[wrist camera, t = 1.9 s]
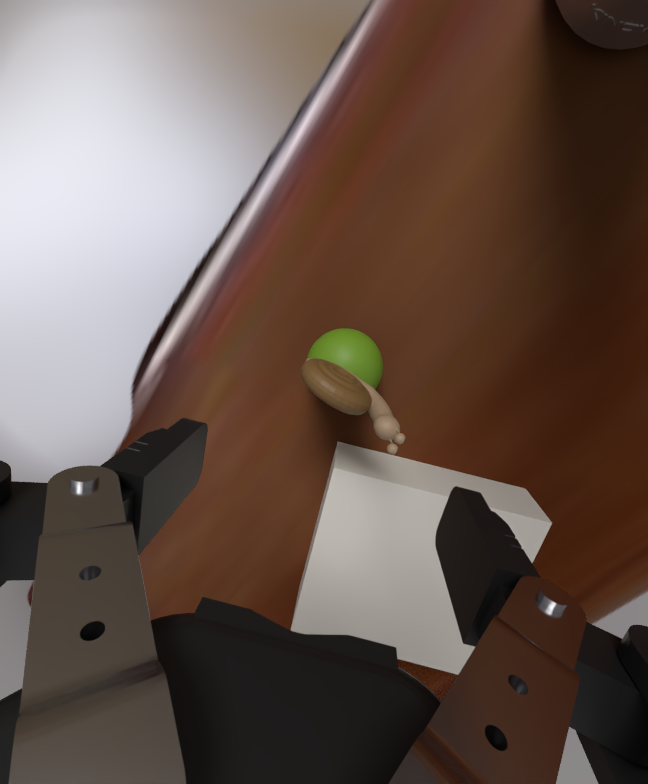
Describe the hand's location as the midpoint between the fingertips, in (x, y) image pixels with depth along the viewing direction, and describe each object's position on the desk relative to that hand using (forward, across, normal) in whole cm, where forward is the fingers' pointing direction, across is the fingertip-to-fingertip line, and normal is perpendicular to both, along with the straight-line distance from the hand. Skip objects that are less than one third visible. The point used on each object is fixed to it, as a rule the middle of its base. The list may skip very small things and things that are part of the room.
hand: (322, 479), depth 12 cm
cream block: (+19, -9, +15) cm, 26 cm away
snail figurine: (+18, 0, 0) cm, 18 cm away
